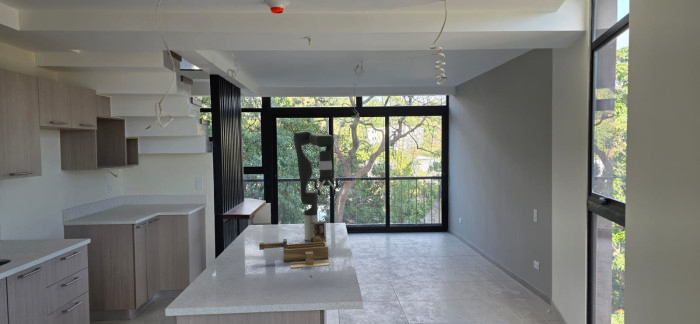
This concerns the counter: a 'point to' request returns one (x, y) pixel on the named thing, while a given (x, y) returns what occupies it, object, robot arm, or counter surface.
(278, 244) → the brown block
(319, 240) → the coffee box
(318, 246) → the wooden box
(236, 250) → the counter surface
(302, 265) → the lid
